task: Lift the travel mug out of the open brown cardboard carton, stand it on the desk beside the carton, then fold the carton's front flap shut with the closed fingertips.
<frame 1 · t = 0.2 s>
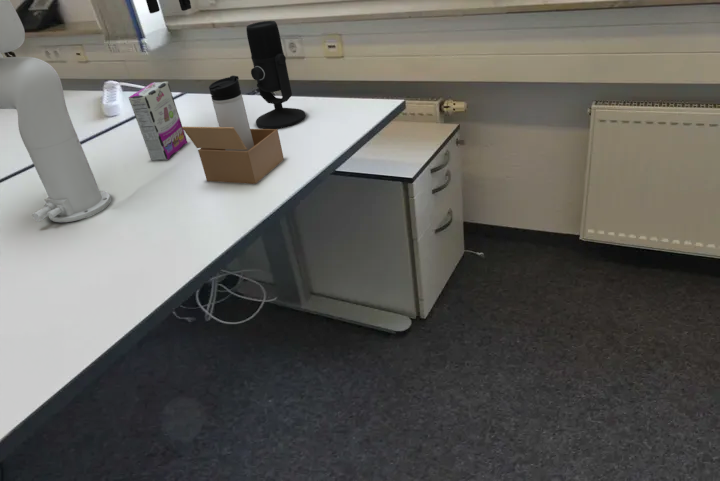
hand: (170, 10, 139), 31 cm above the table, tool pointing down, fingers open, 9 cm apart
front flap: (214, 138, 116), point 11 cm above the table, hinge at 115.0°
travel mug: (246, 169, 127), resting on carton
candy bar box: (169, 153, 144), on the table
microphone: (281, 121, 155), on the table
carton: (246, 170, 127), on the table
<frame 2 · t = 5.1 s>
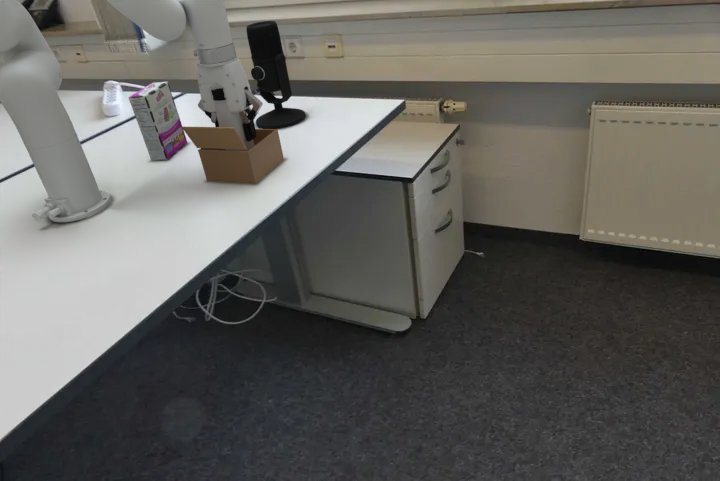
hand: (238, 138, 124), 8 cm above the table, tool pointing down, fingers closed on travel mug, 6 cm apart
travel mug: (246, 169, 127), resting on carton, touching gripper
everything else where it was.
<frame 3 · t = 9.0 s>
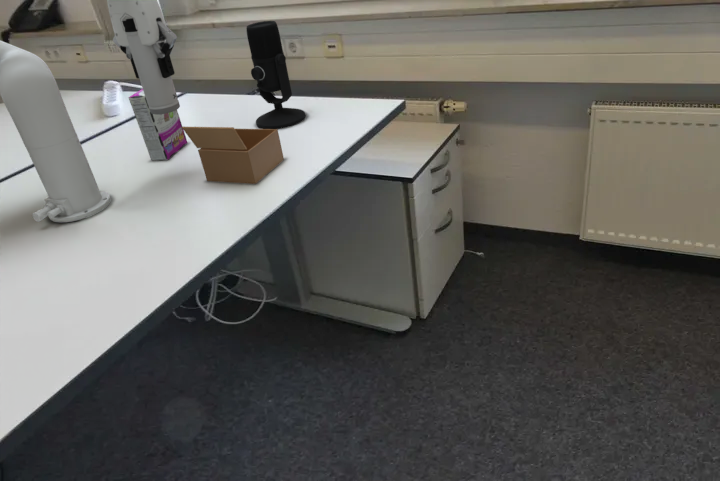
hand: (155, 75, 118), 23 cm above the table, tool pointing down, fingers closed on travel mug, 6 cm apart
travel mug: (166, 110, 122), point 15 cm above the table, touching gripper
everything else where it was.
when the fingers open (7 cm above the table, at t = 12.9 s): travel mug stays where it is, on the table.
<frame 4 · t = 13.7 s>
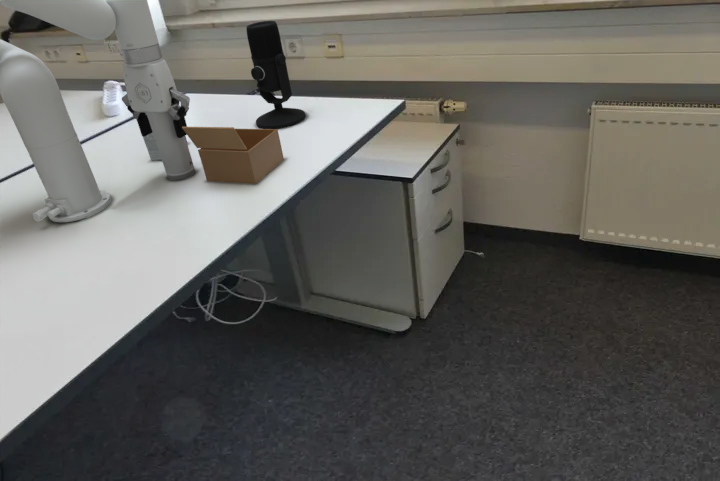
hand: (165, 135, 125), 10 cm above the table, tool pointing down, fingers open, 9 cm apart
travel mug: (182, 175, 130), on the table
everything else where it was.
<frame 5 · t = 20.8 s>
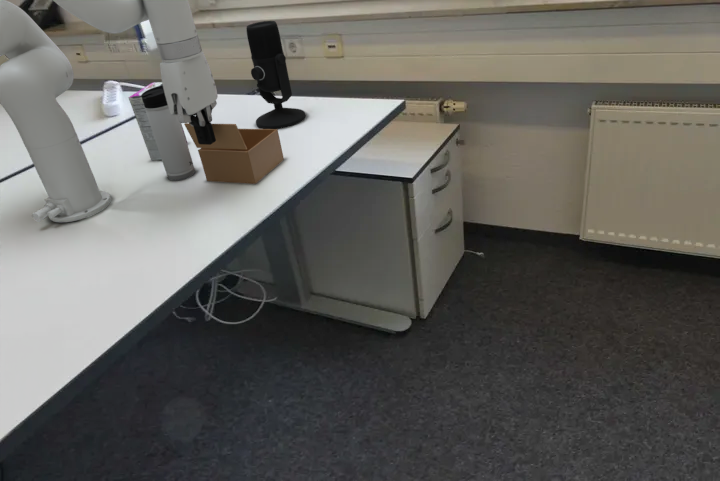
hand: (207, 142, 114), 11 cm above the table, tool pointing down, fingers closed
front flap: (215, 136, 116), point 11 cm above the table, hinge at 105.5°, touching gripper
everything else where it was.
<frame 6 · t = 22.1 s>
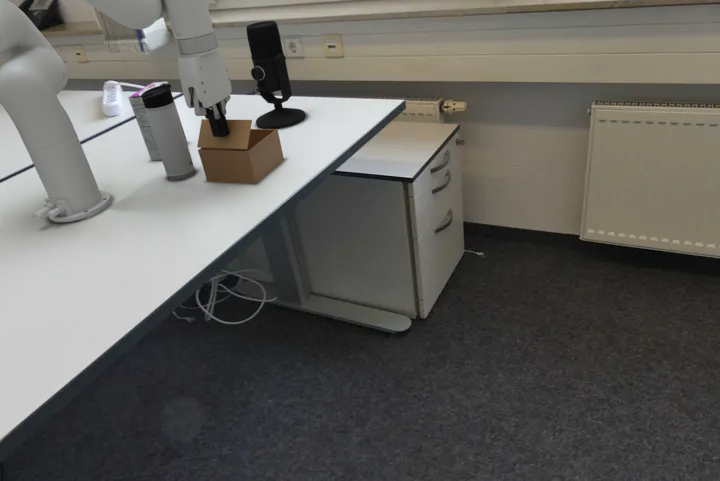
hand: (221, 135, 118), 10 cm above the table, tool pointing down, fingers closed
front flap: (224, 133, 119), point 10 cm above the table, hinge at 50.1°, touching gripper
everything else where it was.
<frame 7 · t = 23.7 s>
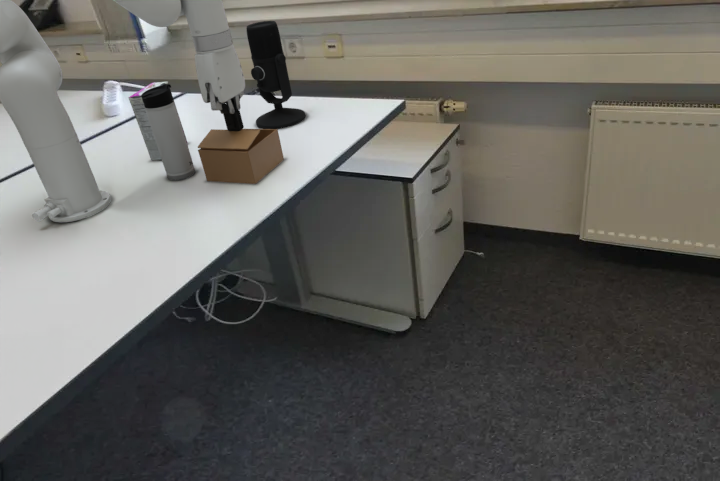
hand: (235, 129, 122), 10 cm above the table, tool pointing down, fingers closed
front flap: (228, 139, 121), point 9 cm above the table, hinge at 15.5°, touching gripper
everything else where it was.
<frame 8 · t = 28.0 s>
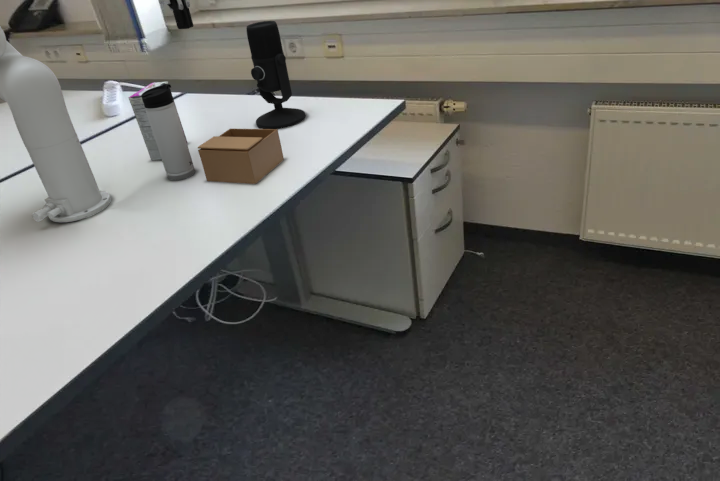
hand: (185, 27, 126), 29 cm above the table, tool pointing down, fingers closed
front flap: (229, 142, 121), point 8 cm above the table, hinge at -0.5°
everything else where it was.
at the end: travel mug inside the target area (0.2 cm from its centre), on the table; travel mug tilted 0°; front flap at +0° (first picture: +115°) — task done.
